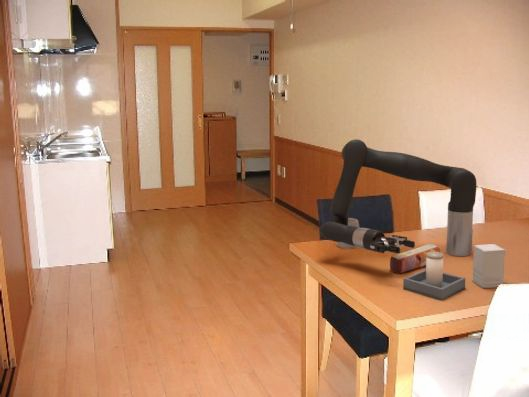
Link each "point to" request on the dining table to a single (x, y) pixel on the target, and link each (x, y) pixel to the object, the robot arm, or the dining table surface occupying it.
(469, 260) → the dining table surface
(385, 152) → the robot arm
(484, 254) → the supplement box
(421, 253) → the snack package
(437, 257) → the canister
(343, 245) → the mug
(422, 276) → the tray
